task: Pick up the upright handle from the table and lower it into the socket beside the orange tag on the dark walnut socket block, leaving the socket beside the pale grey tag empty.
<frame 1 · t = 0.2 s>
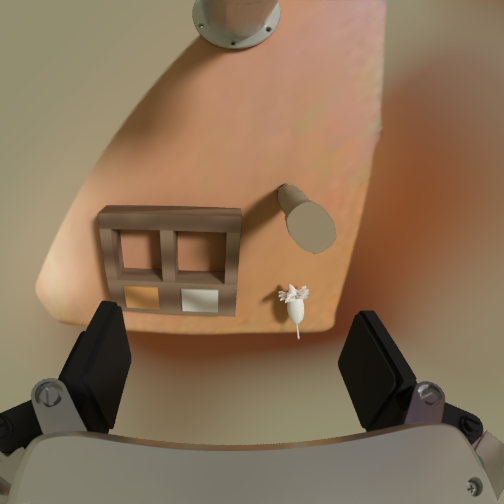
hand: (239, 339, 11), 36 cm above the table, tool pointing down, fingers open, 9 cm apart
white animal figurine: (292, 303, 56), on the table
socket block: (172, 257, 49), on the table
handle: (286, 192, 46), on the table
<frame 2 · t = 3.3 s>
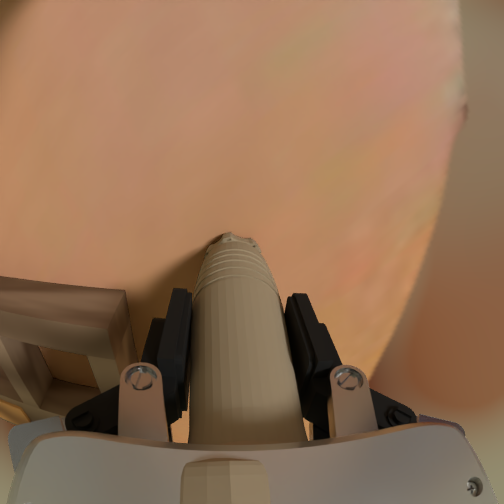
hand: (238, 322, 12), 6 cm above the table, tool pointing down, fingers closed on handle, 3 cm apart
socket block: (36, 359, 21), on the table
handle: (233, 253, 18), on the table, touching gripper
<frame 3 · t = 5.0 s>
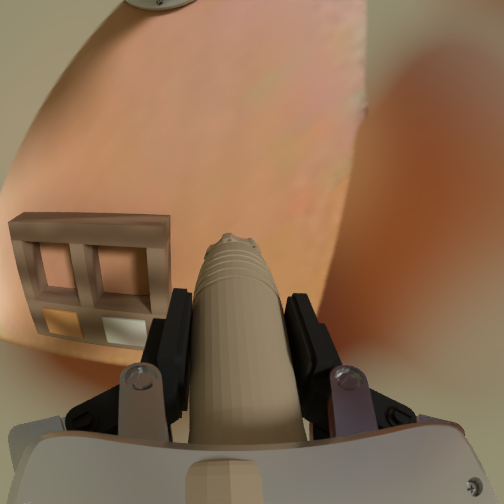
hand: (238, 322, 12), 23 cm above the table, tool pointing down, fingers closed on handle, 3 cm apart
socket block: (95, 276, 36), on the table
handle: (233, 254, 18), point 17 cm above the table, touching gripper
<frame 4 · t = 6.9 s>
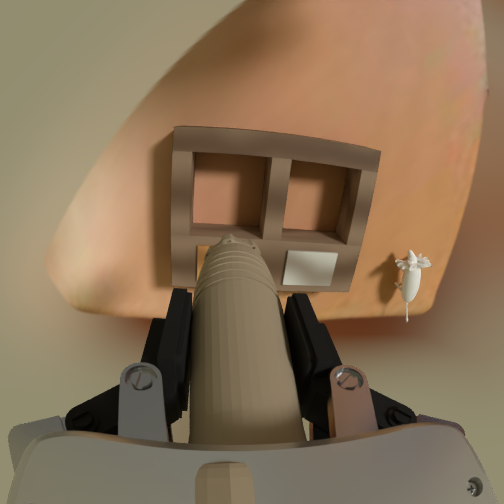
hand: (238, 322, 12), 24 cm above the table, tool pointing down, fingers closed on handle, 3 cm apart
white animal figurine: (400, 277, 42), on the table
socket block: (269, 207, 35), on the table
handle: (233, 255, 18), point 18 cm above the table, touching gripper
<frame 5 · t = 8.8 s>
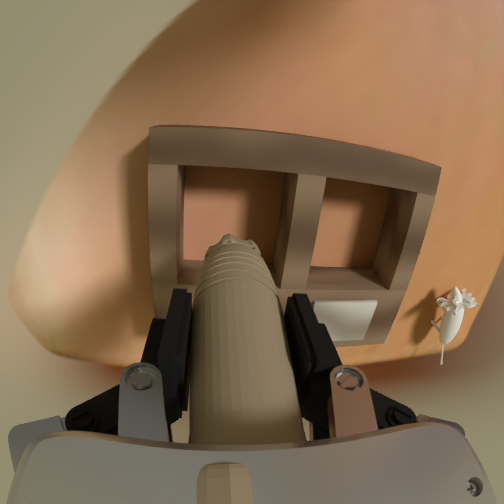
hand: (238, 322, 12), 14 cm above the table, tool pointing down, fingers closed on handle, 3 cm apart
white animal figurine: (437, 314, 32), on the table
socket block: (288, 239, 26), on the table
handle: (233, 255, 18), point 7 cm above the table, touching gripper
when the fingers open (8 cm above the table, at t = 10.3 s): handle drops 1 cm, resting in socket block.
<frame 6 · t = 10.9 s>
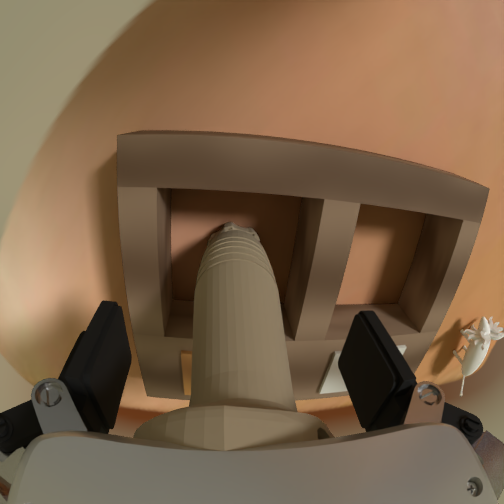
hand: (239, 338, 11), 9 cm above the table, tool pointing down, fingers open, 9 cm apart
white animal figurine: (460, 343, 27), on the table
socket block: (303, 275, 21), on the table
handle: (234, 242, 19), resting in socket block
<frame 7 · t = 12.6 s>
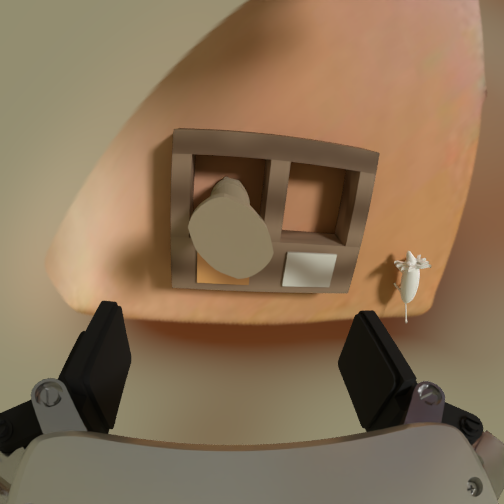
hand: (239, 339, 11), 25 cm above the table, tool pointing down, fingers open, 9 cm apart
white animal figurine: (399, 278, 42), on the table
socket block: (268, 209, 35), on the table
handle: (228, 189, 34), resting in socket block
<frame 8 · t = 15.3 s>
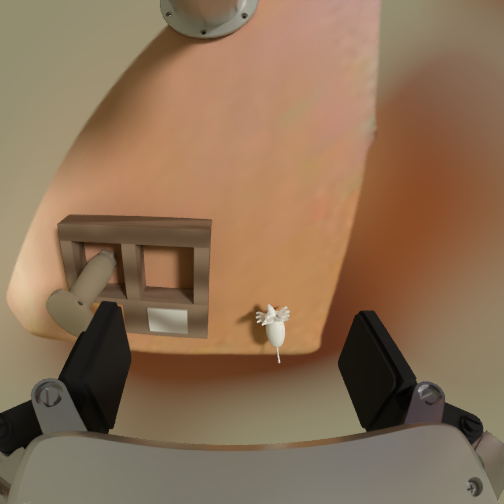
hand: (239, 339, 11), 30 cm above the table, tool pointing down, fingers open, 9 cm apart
white animal figurine: (273, 323, 50), on the table
socket block: (138, 272, 43), on the table
handle: (108, 257, 42), resting in socket block
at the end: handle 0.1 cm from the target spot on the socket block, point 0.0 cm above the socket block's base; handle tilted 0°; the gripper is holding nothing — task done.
